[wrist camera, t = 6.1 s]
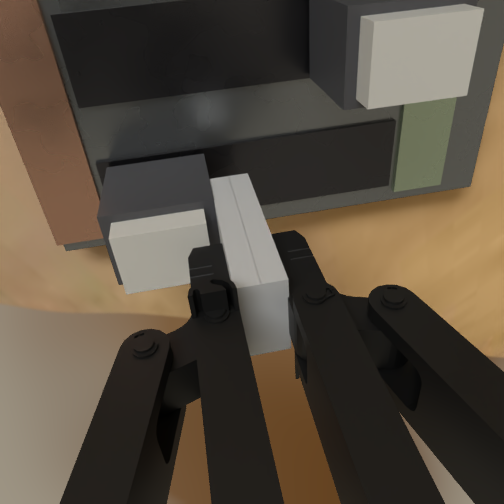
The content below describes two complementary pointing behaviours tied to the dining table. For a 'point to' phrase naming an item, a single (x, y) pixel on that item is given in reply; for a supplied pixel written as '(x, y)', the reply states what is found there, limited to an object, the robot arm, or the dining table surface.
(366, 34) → the breaker mid row
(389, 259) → the dining table surface
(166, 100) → the panel
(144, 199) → the block
